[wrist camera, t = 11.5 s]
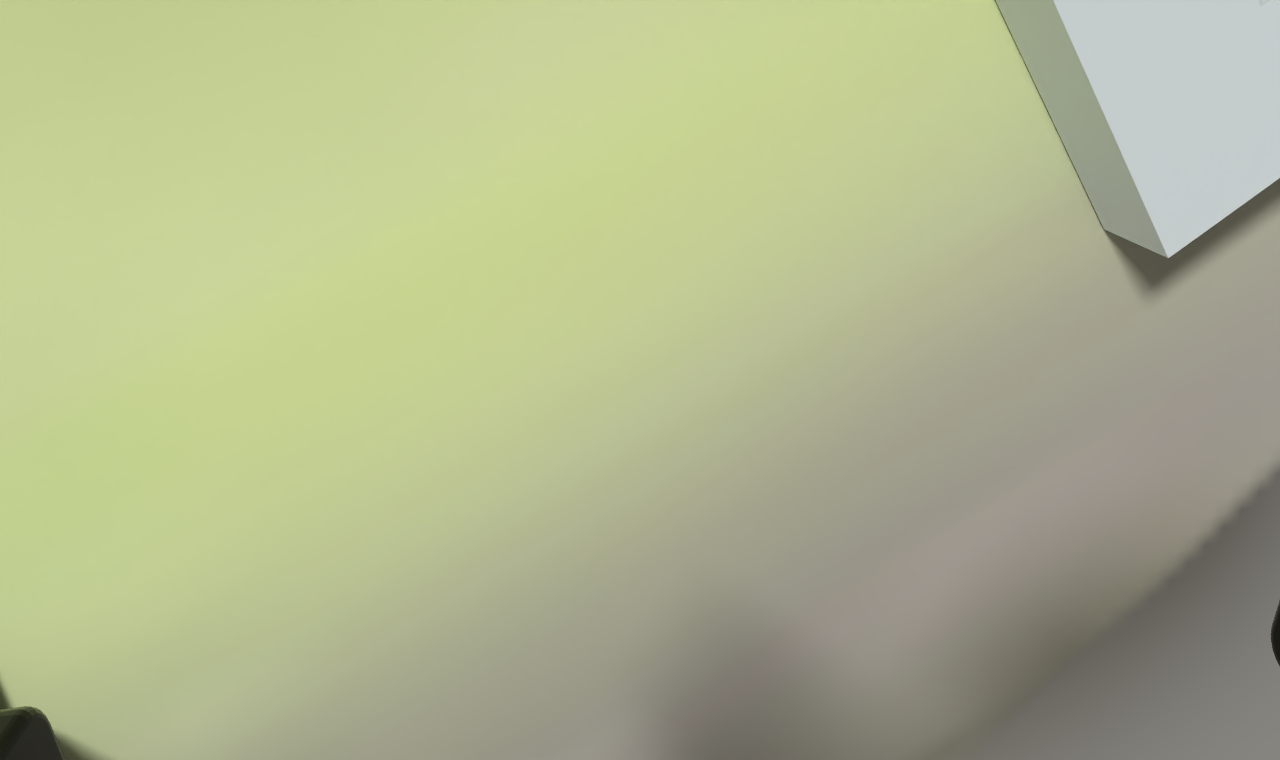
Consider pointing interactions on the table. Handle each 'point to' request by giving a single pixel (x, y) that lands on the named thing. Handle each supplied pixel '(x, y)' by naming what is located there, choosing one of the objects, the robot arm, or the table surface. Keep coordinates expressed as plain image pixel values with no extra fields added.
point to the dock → (1159, 105)
